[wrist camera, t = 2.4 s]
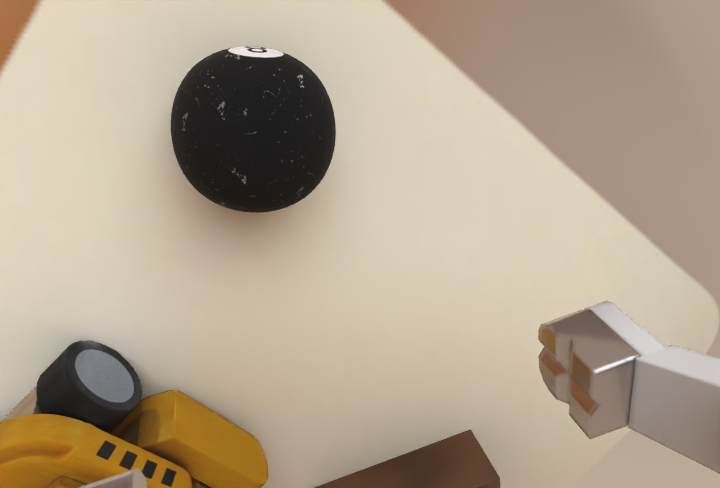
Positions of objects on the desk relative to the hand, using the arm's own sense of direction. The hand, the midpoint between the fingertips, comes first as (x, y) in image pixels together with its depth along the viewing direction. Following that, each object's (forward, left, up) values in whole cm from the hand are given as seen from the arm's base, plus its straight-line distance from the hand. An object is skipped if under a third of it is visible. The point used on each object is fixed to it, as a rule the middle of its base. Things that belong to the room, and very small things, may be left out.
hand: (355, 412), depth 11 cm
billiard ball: (0, -2, -16) cm, 16 cm away
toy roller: (+11, +13, -16) cm, 24 cm away
